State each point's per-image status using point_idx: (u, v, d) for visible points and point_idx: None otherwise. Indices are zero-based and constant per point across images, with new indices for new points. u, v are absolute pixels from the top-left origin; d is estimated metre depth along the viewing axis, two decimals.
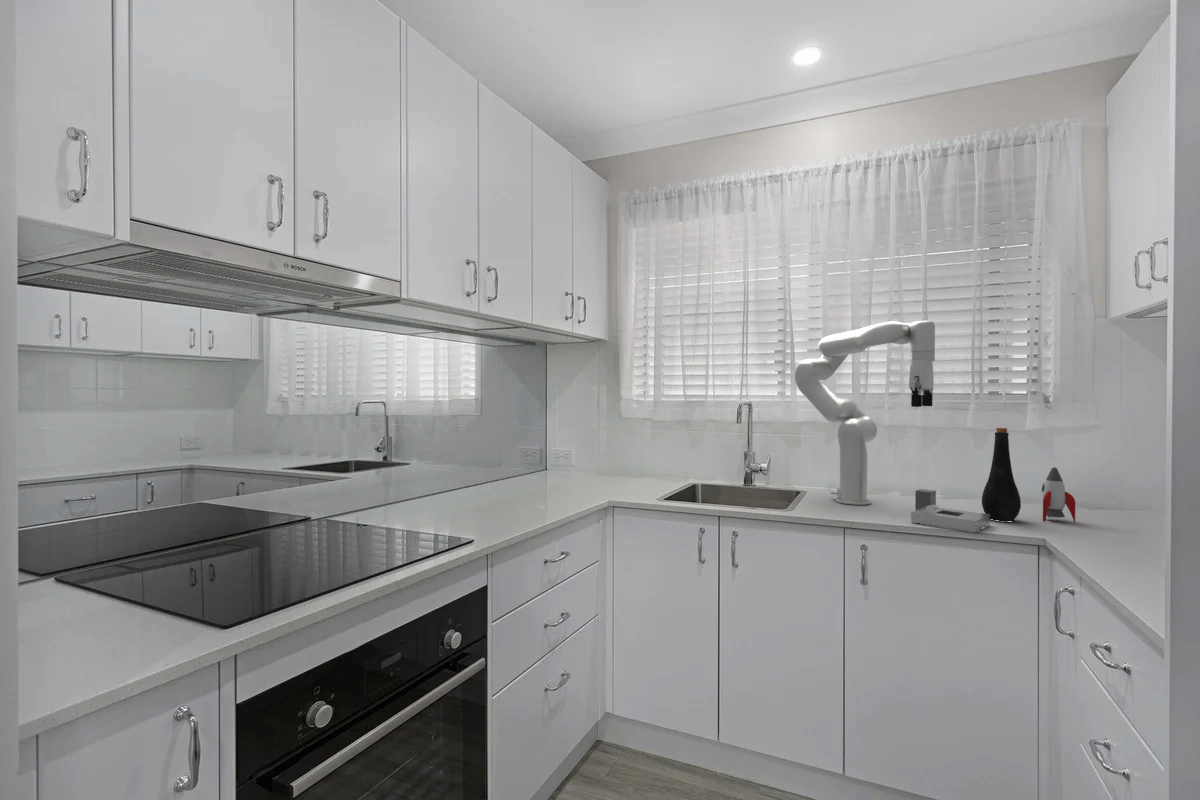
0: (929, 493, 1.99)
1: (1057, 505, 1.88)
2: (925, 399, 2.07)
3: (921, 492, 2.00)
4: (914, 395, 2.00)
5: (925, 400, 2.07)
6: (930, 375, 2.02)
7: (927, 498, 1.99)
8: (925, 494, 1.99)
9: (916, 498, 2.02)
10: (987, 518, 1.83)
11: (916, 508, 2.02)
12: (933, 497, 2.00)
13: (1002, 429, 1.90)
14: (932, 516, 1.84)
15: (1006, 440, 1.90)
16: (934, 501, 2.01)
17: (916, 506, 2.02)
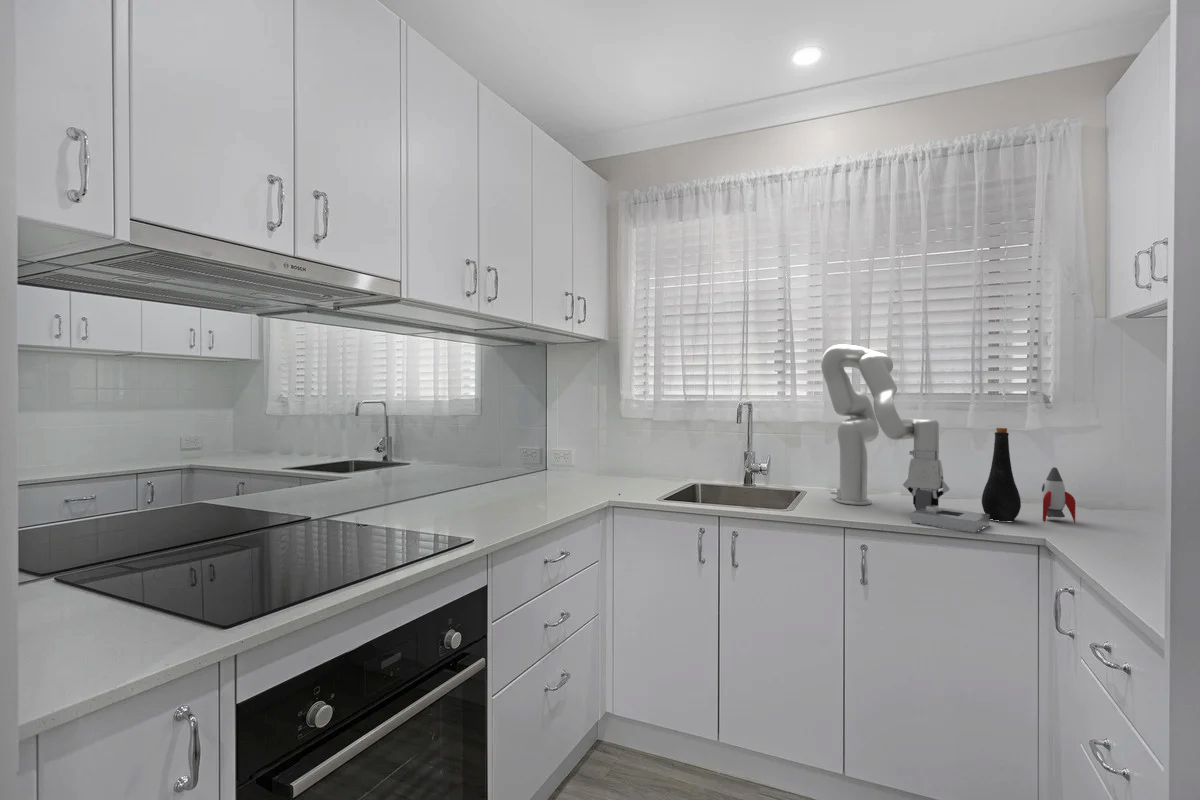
0: (929, 493, 1.98)
1: (1057, 505, 1.88)
2: None
3: (921, 492, 2.00)
4: (937, 498, 1.99)
5: None
6: None
7: (928, 498, 1.99)
8: (925, 494, 1.99)
9: (916, 498, 2.02)
10: (987, 518, 1.83)
11: (916, 508, 2.02)
12: None
13: (1002, 429, 1.90)
14: (932, 516, 1.84)
15: (1006, 440, 1.90)
16: None
17: (916, 506, 2.02)
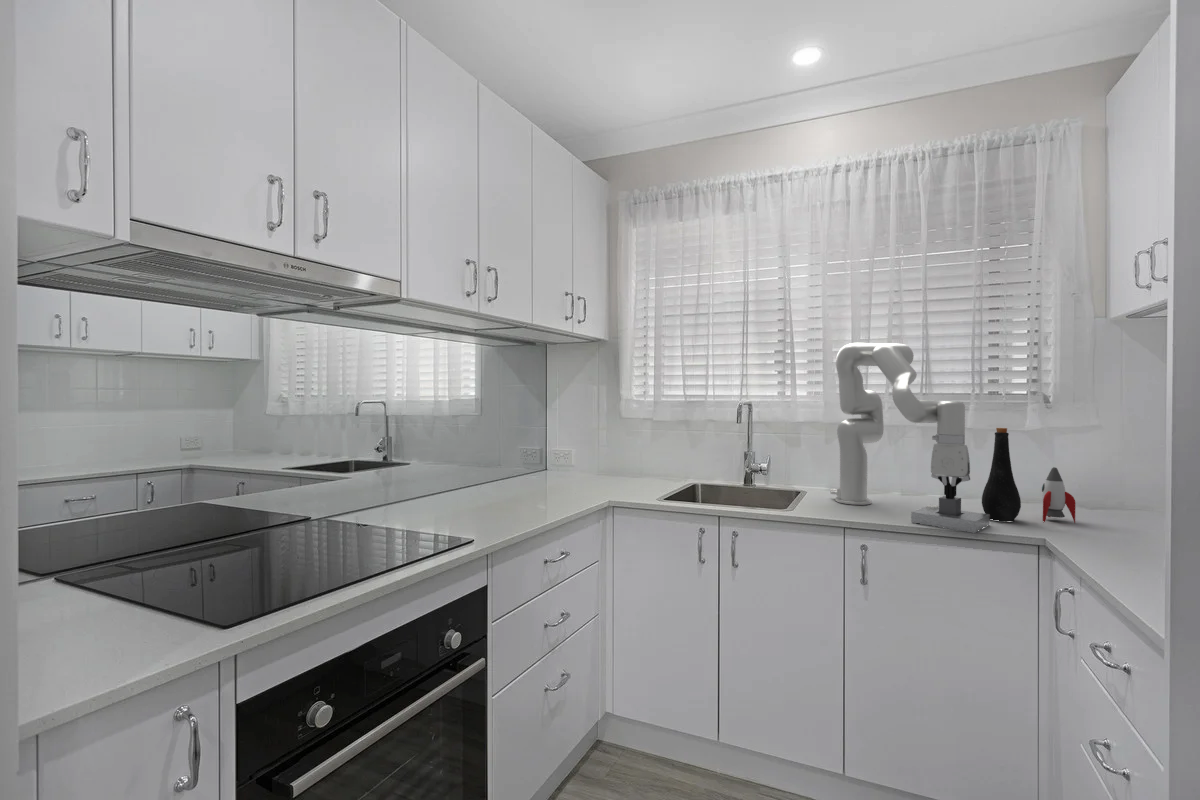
0: (954, 501, 1.83)
1: (1057, 505, 1.88)
2: None
3: (945, 500, 1.85)
4: (955, 486, 1.85)
5: None
6: None
7: (952, 506, 1.83)
8: (950, 502, 1.84)
9: (940, 506, 1.86)
10: (987, 518, 1.83)
11: None
12: (958, 505, 1.85)
13: (1002, 429, 1.90)
14: (932, 516, 1.84)
15: (1006, 440, 1.90)
16: (959, 509, 1.85)
17: None
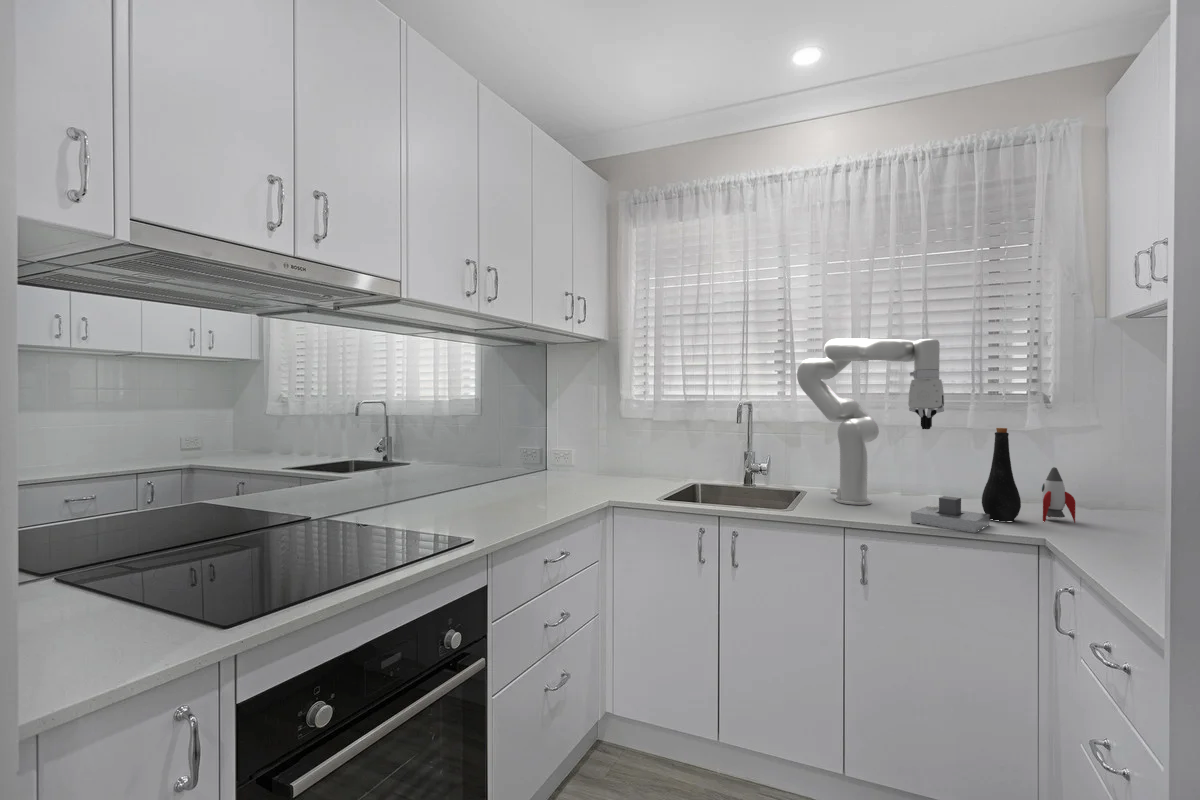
0: (954, 501, 1.83)
1: (1057, 505, 1.88)
2: None
3: (945, 500, 1.85)
4: (930, 418, 2.00)
5: None
6: None
7: (952, 506, 1.83)
8: (950, 502, 1.84)
9: (940, 506, 1.86)
10: (987, 518, 1.83)
11: None
12: (958, 505, 1.85)
13: (1002, 429, 1.90)
14: (932, 516, 1.84)
15: (1006, 440, 1.90)
16: (959, 509, 1.85)
17: None
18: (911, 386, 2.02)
